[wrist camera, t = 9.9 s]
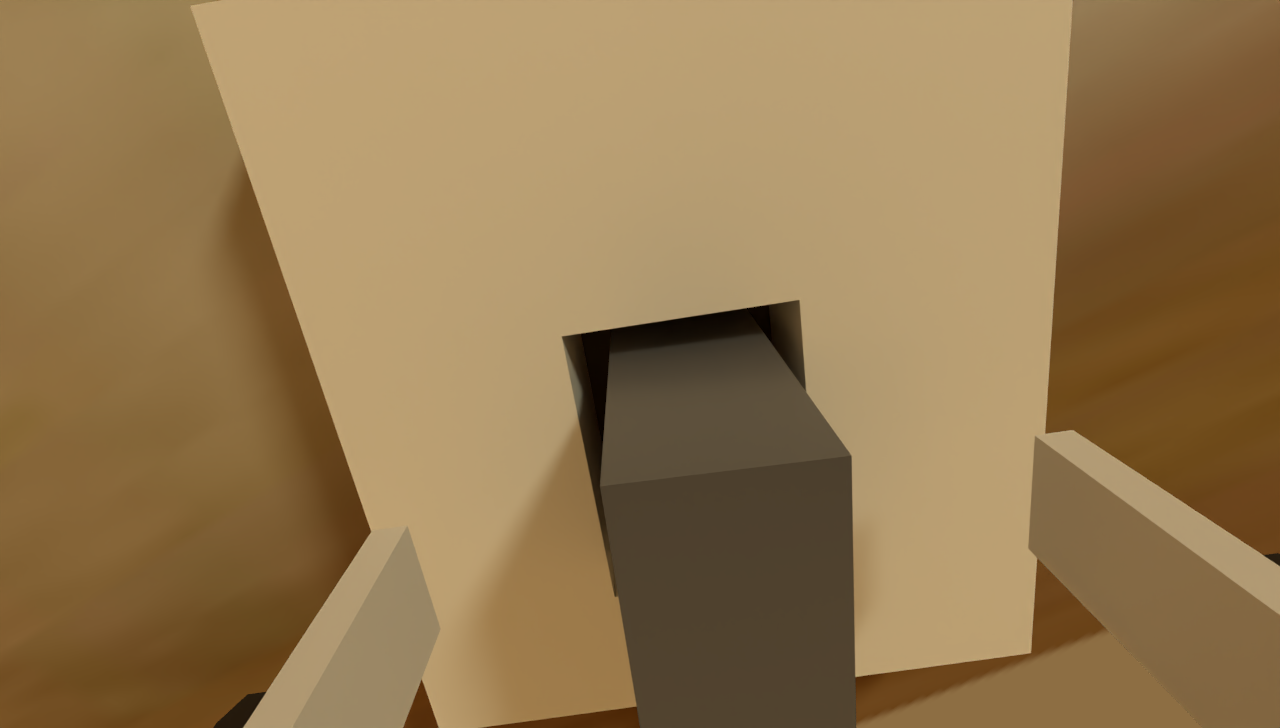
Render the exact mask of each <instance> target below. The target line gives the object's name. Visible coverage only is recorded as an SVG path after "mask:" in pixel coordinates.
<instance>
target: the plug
mask: <svg viewBox="0 0 1280 728" xmlns="http://www.w3.org/2000/svg"><path fill="white" fill-rule="evenodd" d="M600 490H601V496H602V502H603V508H604V514H605V520H606V526H607V532H608V538H609V544H610V550H611V556H612V562H613V568H614V574H615V580H616V586H617V592H618V598H619V604H620V610H621V616H622V622H623V628H624V634H625V640H626V646H627V652H628V658H629V664H630V670H631V676H632V682H633V688H634V694H635V700H636V706H637V712H638V718H639V724H640V728H856V686H855V627H854V567H853V508H852V456H851V454H850V453H849V451H848V450H847V449H846V447H845V446H844V444H843V443H842V442H841V440H840V439H839V437H838V436H837V435H836V433H835V432H834V430H833V429H832V428H831V426H830V425H829V423H828V422H827V421H826V419H825V418H824V416H823V415H822V414H821V412H820V411H819V409H818V408H817V407H816V405H815V404H814V402H813V401H812V400H811V398H810V397H809V395H808V394H807V393H806V391H805V390H804V388H803V387H802V386H801V384H800V383H799V381H798V380H797V379H796V377H795V376H794V374H793V373H792V372H791V370H790V369H789V367H788V366H787V365H786V363H785V362H784V360H783V359H782V358H781V356H780V355H779V353H778V352H777V351H776V349H775V348H774V346H773V345H772V344H771V342H770V341H769V339H768V338H767V337H766V335H765V334H764V332H763V331H762V330H761V328H760V327H759V325H758V324H757V323H756V321H755V320H754V318H753V317H752V316H751V314H750V313H749V311H748V310H747V309H746V308H743V309H737V310H730V311H724V312H717V313H711V314H704V315H698V316H691V317H685V318H678V319H672V320H665V321H659V322H652V323H646V324H639V325H633V326H626V327H620V328H613V329H611V342H610V356H609V369H608V383H607V397H606V410H605V424H604V438H603V451H602V465H601V479H600Z"/></svg>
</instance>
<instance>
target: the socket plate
mask: <svg viewBox="0 0 1280 728" xmlns="http://www.w3.org/2000/svg"><path fill="white" fill-rule="evenodd" d="M1072 4H1073V0H221V1H215V2H209V3H203V4H198V5H192V6H190V7H191V9H192V12H193V15H194V18H195V21H196V24H197V27H198V30H199V33H200V36H201V39H202V41H203V44H204V47H205V50H206V53H207V56H208V59H209V62H210V65H211V68H212V70H213V73H214V76H215V79H216V82H217V85H218V88H219V91H220V94H221V97H222V100H223V102H224V105H225V108H226V111H227V114H228V117H229V120H230V123H231V126H232V129H233V131H234V134H235V137H236V140H237V143H238V146H239V149H240V152H241V155H242V158H243V161H244V163H245V166H246V169H247V172H248V175H249V178H250V181H251V184H252V187H253V190H254V192H255V195H256V198H257V201H258V204H259V207H260V210H261V213H262V216H263V219H264V222H265V224H266V227H267V230H268V233H269V236H270V239H271V242H272V245H273V248H274V251H275V253H276V256H277V259H278V262H279V265H280V268H281V271H282V274H283V277H284V280H285V283H286V285H287V288H288V291H289V294H290V297H291V300H292V303H293V306H294V309H295V312H296V314H297V317H298V320H299V323H300V326H301V329H302V332H303V335H304V338H305V341H306V344H307V346H308V349H309V352H310V355H311V358H312V361H313V364H314V367H315V370H316V373H317V375H318V378H319V381H320V384H321V387H322V390H323V393H324V396H325V399H326V402H327V405H328V407H329V410H330V413H331V416H332V419H333V422H334V425H335V428H336V431H337V434H338V437H339V439H340V442H341V445H342V448H343V451H344V454H345V457H346V460H347V463H348V466H349V468H350V471H351V474H352V477H353V480H354V483H355V486H356V489H357V492H358V495H359V498H360V500H361V503H362V506H363V509H364V512H365V515H366V518H367V521H368V524H369V527H370V529H371V532H372V530H379V529H386V528H393V527H400V526H408V529H409V532H410V535H411V538H412V541H413V544H414V547H415V550H416V554H417V557H418V560H419V563H420V566H421V569H422V572H423V575H424V578H425V582H426V585H427V588H428V591H429V594H430V597H431V600H432V603H433V607H434V610H435V613H436V616H437V619H438V622H439V625H440V628H441V630H440V632H439V635H438V638H437V640H436V643H435V645H434V648H433V651H432V653H431V656H430V658H429V661H428V664H427V666H426V669H425V671H424V674H423V677H422V681H423V683H424V686H425V689H426V692H427V695H428V698H429V701H430V704H431V707H432V710H433V712H434V715H435V718H436V721H437V724H438V727H439V728H481V727H489V726H496V725H503V724H511V723H518V722H526V721H533V720H540V719H548V718H555V717H563V716H570V715H577V714H585V713H592V712H599V711H607V710H614V709H622V708H629V707H636V700H635V694H634V688H633V682H632V676H631V670H630V664H629V658H628V652H627V646H626V640H625V634H624V628H623V622H622V616H621V610H620V604H619V598H618V592H617V586H616V580H615V574H614V568H613V562H612V556H611V550H610V544H609V538H608V532H607V526H606V520H605V514H604V508H603V502H602V496H601V490H600V479H601V465H602V451H603V445H602V440H601V435H600V430H599V425H598V419H597V414H596V409H595V404H594V399H593V393H592V388H591V383H590V378H589V373H588V367H587V362H586V357H585V352H584V347H583V341H582V336H581V333H587V332H594V331H600V330H607V329H613V328H620V327H626V326H633V325H639V324H646V323H652V322H659V321H665V320H672V319H678V318H685V317H691V316H698V315H704V314H711V313H717V312H724V311H730V310H737V309H743V308H750V307H756V306H763V305H769V315H770V326H771V338H772V345H773V346H774V348H775V349H776V351H777V352H778V353H779V355H780V356H781V358H782V359H783V360H784V362H785V363H786V365H787V366H788V367H789V369H790V370H791V372H792V373H793V374H794V376H795V377H796V379H797V380H798V381H799V383H800V384H801V386H802V387H803V388H804V390H805V391H806V393H807V394H808V395H809V397H810V398H811V400H812V401H813V402H814V404H815V405H816V407H817V408H818V409H819V411H820V412H821V414H822V415H823V416H824V418H825V419H826V421H827V422H828V423H829V425H830V426H831V428H832V429H833V430H834V432H835V433H836V435H837V436H838V437H839V439H840V440H841V442H842V443H843V444H844V446H845V447H846V449H847V450H848V451H849V453H850V454H851V456H852V508H853V567H854V627H855V677H858V676H865V675H873V674H880V673H888V672H895V671H902V670H910V669H917V668H924V667H932V666H939V665H947V664H954V663H961V662H969V661H976V660H984V659H991V658H998V657H1006V656H1013V655H1021V654H1028V653H1031V643H1032V627H1033V612H1034V596H1035V580H1036V565H1037V557H1036V556H1035V555H1034V554H1033V553H1032V552H1031V551H1030V550H1029V549H1028V543H1029V526H1030V509H1031V492H1032V475H1033V458H1034V441H1035V435H1042V434H1045V425H1046V409H1047V393H1048V378H1049V362H1050V347H1051V331H1052V316H1053V300H1054V284H1055V269H1056V253H1057V238H1058V222H1059V206H1060V191H1061V175H1062V160H1063V144H1064V129H1065V113H1066V97H1067V82H1068V66H1069V51H1070V35H1071V19H1072Z"/></svg>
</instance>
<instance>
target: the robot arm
mask: <svg viewBox="0 0 1280 728" xmlns="http://www.w3.org/2000/svg"><path fill="white" fill-rule="evenodd" d="M1028 549H1029V550H1030V551H1031V552H1032V553H1033V554H1034V555H1035V556H1036V557H1037V558H1038V559H1039V560H1040V561H1041V562H1042V563H1043V564H1044V565H1045V566H1046V567H1047V568H1048V569H1049V570H1050V571H1051V572H1052V573H1053V574H1054V576H1055V577H1056V578H1057V579H1058V580H1059V581H1060V582H1061V583H1062V584H1063V585H1064V586H1065V587H1066V588H1067V589H1068V590H1069V591H1070V592H1071V593H1072V594H1073V595H1074V596H1075V597H1076V598H1077V599H1078V600H1079V601H1080V602H1081V603H1082V604H1083V605H1084V606H1085V607H1086V608H1087V609H1088V610H1089V611H1090V613H1091V614H1092V615H1093V616H1094V617H1095V618H1096V619H1097V620H1098V621H1099V622H1100V623H1101V624H1102V625H1103V626H1104V627H1105V628H1106V629H1107V630H1108V631H1109V632H1110V633H1111V634H1112V635H1113V636H1114V637H1115V638H1116V639H1117V640H1118V641H1119V642H1120V643H1121V644H1122V645H1123V646H1124V647H1125V648H1126V650H1128V652H1129V653H1130V654H1131V655H1132V656H1133V657H1134V658H1135V659H1136V660H1137V661H1138V662H1139V663H1140V664H1141V665H1142V666H1143V667H1144V668H1145V669H1146V670H1147V671H1148V672H1149V673H1150V674H1151V675H1152V676H1153V677H1154V678H1155V679H1156V680H1157V681H1158V682H1159V683H1160V684H1161V685H1162V686H1163V688H1164V689H1165V690H1166V691H1167V692H1168V693H1169V694H1170V695H1171V696H1172V697H1173V698H1174V699H1175V700H1176V701H1177V702H1178V703H1179V704H1180V705H1181V706H1182V707H1183V708H1184V709H1185V710H1186V711H1187V712H1188V713H1189V714H1190V715H1191V716H1192V717H1193V718H1194V719H1195V720H1196V721H1197V722H1198V723H1199V725H1201V727H1203V728H1280V554H1279V553H1276V554H1269V555H1262V554H1260V553H1259V552H1257V551H1256V550H1254V549H1253V548H1251V547H1250V546H1248V545H1247V544H1245V543H1244V542H1242V541H1241V540H1239V539H1238V538H1236V537H1234V536H1233V535H1231V534H1230V533H1228V532H1227V531H1225V530H1224V529H1222V528H1221V527H1219V526H1218V525H1216V524H1215V523H1213V522H1212V521H1210V520H1209V519H1207V518H1206V517H1204V516H1203V515H1201V514H1200V513H1198V512H1196V511H1195V510H1193V509H1192V508H1190V507H1189V506H1187V505H1186V504H1184V503H1183V502H1181V501H1180V500H1178V499H1177V498H1175V497H1174V496H1172V495H1171V494H1169V493H1168V492H1166V491H1165V490H1163V489H1162V488H1160V487H1158V486H1157V485H1155V484H1154V483H1152V482H1151V481H1149V480H1148V479H1146V478H1145V477H1143V476H1142V475H1140V474H1139V473H1137V472H1136V471H1134V470H1133V469H1131V468H1130V467H1128V466H1127V465H1125V464H1124V463H1122V462H1120V461H1119V460H1117V459H1116V458H1114V457H1113V456H1111V455H1110V454H1108V453H1107V452H1105V451H1104V450H1102V449H1101V448H1099V447H1098V446H1096V445H1095V444H1093V443H1092V442H1090V441H1089V440H1087V439H1086V438H1084V437H1082V436H1081V435H1079V434H1078V433H1076V432H1075V431H1073V430H1070V431H1063V432H1056V433H1049V434H1042V435H1035V441H1034V458H1033V475H1032V492H1031V509H1030V526H1029V543H1028ZM440 630H441V628H440V625H439V622H438V619H437V616H436V613H435V610H434V607H433V603H432V600H431V597H430V594H429V591H428V588H427V585H426V582H425V578H424V575H423V572H422V569H421V566H420V563H419V560H418V557H417V554H416V550H415V547H414V544H413V541H412V538H411V535H410V532H409V529H408V526H400V527H393V528H386V529H379V530H372V532H371V533H370V535H369V536H368V538H367V539H366V541H365V542H364V544H363V545H362V547H361V548H360V550H359V551H358V553H357V554H356V556H355V558H354V559H353V561H352V562H351V564H350V565H349V567H348V568H347V570H346V571H345V573H344V574H343V576H342V577H341V579H340V580H339V582H338V584H337V585H336V587H335V588H334V590H333V591H332V593H331V594H330V596H329V597H328V599H327V600H326V602H325V603H324V605H323V606H322V608H321V610H320V611H319V613H318V614H317V616H316V617H315V619H314V620H313V622H312V623H311V625H310V626H309V628H308V629H307V631H306V633H305V634H304V636H303V637H302V639H301V640H300V642H299V643H298V645H297V646H296V648H295V649H294V651H293V652H292V654H291V655H290V657H289V659H288V660H287V662H286V663H285V665H284V666H283V668H282V669H281V671H280V672H279V674H278V675H277V677H276V678H275V680H274V681H273V683H272V685H271V686H270V688H269V689H268V691H267V692H262V693H255V694H248V695H247V696H245V697H244V698H243V699H242V700H241V701H240V702H239V703H238V704H237V705H236V706H235V707H234V708H232V709H231V710H230V711H229V712H228V713H227V714H226V715H225V716H224V717H223V718H222V719H220V720H219V721H218V722H217V723H216V725H215V726H214V728H403V726H404V724H405V721H406V718H407V716H408V713H409V711H410V708H411V705H412V703H413V700H414V698H415V695H416V692H417V690H418V687H419V685H420V682H421V679H422V677H423V674H424V671H425V669H426V666H427V664H428V661H429V658H430V656H431V653H432V651H433V648H434V645H435V643H436V640H437V638H438V635H439V632H440Z"/></svg>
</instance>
